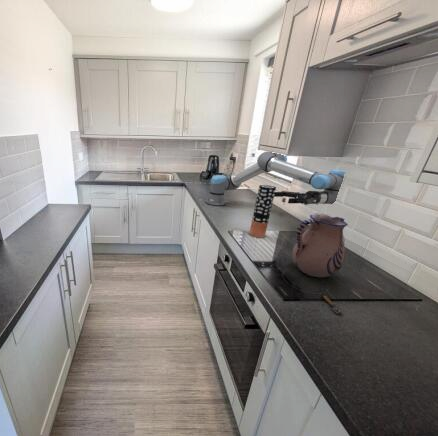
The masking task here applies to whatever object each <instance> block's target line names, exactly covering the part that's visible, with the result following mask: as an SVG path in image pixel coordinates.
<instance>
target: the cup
mask: <svg viewBox="0 0 438 436" xmlns="http://www.w3.org/2000/svg"><path fill="white" fill-rule="evenodd" d="M268 225H269V222H268V223H259V222H255V221H253V218H252V219H251V224H250V227H249V235H250V236H252V237H254V238H259V239H260V238H261V239H262V238H265V237H266V234H267V230H268Z"/></svg>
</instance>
